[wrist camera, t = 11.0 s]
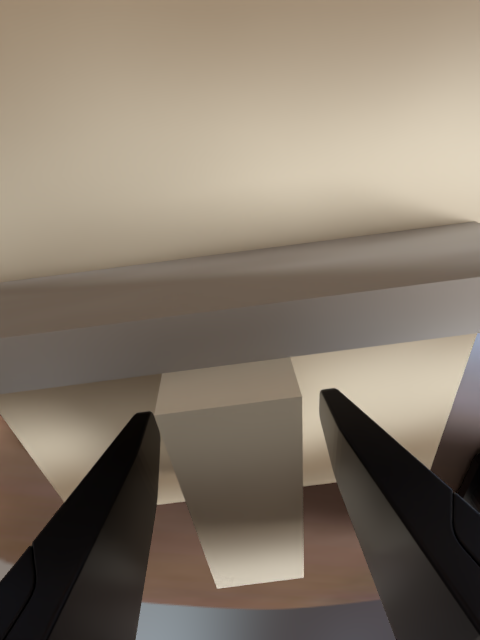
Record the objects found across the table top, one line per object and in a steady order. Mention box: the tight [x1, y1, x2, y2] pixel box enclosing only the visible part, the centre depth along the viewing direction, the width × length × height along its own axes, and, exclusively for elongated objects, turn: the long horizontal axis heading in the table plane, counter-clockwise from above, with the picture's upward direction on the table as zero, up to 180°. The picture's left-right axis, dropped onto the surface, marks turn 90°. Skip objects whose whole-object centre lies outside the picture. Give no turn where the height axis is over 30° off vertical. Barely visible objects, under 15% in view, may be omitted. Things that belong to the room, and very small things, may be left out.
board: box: [0, 0, 480, 505], centre depth 10 cm, size 15×14×3 cm
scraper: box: [0, 221, 480, 589], centre depth 8 cm, size 8×12×4 cm
